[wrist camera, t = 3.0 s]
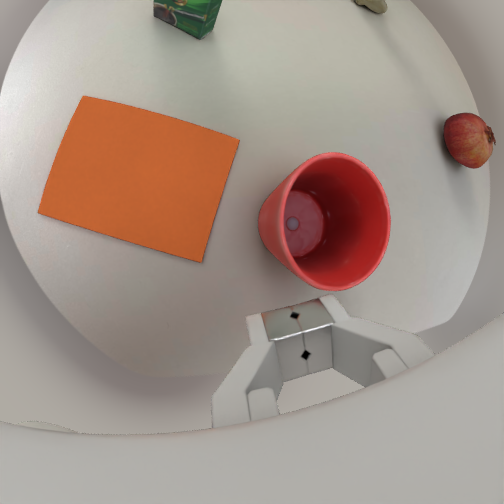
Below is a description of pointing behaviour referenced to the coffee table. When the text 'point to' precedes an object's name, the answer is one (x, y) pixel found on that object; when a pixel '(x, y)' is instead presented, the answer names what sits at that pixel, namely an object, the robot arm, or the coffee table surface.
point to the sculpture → (374, 5)
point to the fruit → (468, 139)
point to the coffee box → (189, 14)
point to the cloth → (139, 177)
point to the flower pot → (328, 222)
